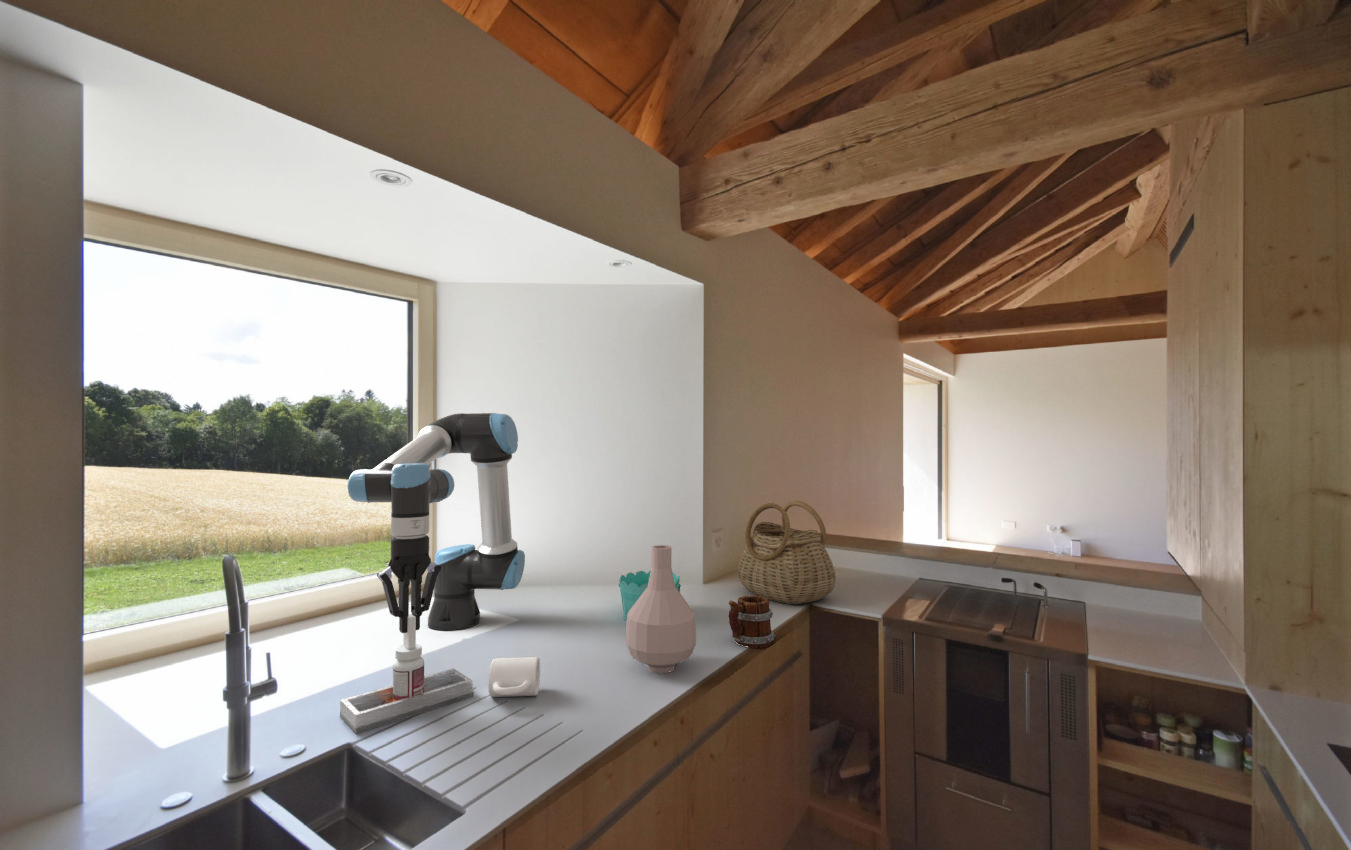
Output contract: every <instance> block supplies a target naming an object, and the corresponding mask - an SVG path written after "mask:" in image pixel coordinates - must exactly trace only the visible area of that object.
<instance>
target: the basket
mask: <svg viewBox="0 0 1351 850" xmlns="http://www.w3.org/2000/svg"><path fill="white" fill-rule="evenodd" d="M791 507H801V509H804V510H805V511H807V512H808V513H809V514H810V515H811V516H812V517H813V519H815V521H816V522H817V525H818V527H819V531H820V534H819V531H818V530H815V529H808V530H803V531H802V530H800V529H799V530H798V529H794V528H792V527H791V523H790V517H789V515H788V513H787V512H788V510H789V509H790V508H791ZM768 509H775V510H777V511H779V513H781V524H777V523H774V522H767V521H762V522H758V523H757V524H756V525H755V526H754V528H753V525H754V523H755V520H756V519H757V518H758V516H759V515H760V514H762V512H764V511H765V510H768ZM752 528H753V530H752ZM744 533H745V537H744V538H745V539H744V540H745V547H744V550H743V551H742V554H741V556H740V558H739V560H738V564H737V576H738V580H739V581H740V583H741V585H742V586H743V587H744V588H745V589H746V590H747V591H749V592H750V593H752V594H753V595H754V596H761V597H765V598H767V599H768V600H769V601H772V600H773V602H776V601H777V602H776V603H780V602H781V604H784V603H786V605H792V604H796V605H802V604H803V603H805V604H808V602H810V603H813V601H814V602H817V601H819V600H821V599H824V598H825V597H827V596H829V595H830V593H832V591H833V590H834V588H835V586H836V581H837V580H836V579H837V578H836V577H837V576H836V570H835V567H834V563H833V561H832V559H831V557H830V555H829V553H828V550H827V549H826V547H825V545H826V541H827V531H826V527H825V524H824V522H823V519H822V518H821V516H820V514H819V513H818V512H817V511H816V510H815V509H814V508H813V507H812V506H811V505H809V504H807V503H805V502H804V501H801V500H792V501H789V502H788V503H786V504H785V505H784V507H783V506H781V505H779V504H776V503H772V502H769V503H768V502H767V503H764V504H762V505H760V506H759V507H757V508H756V509H755V510H754V512H753V513H752V514H751V516H750V517H749V519H748V521H747V524H746V528H745V532H744ZM816 600H817V601H816ZM803 605H804V604H803Z"/></svg>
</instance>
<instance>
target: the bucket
mask: <svg viewBox="0 0 1351 850" xmlns="http://www.w3.org/2000/svg"><path fill="white" fill-rule="evenodd" d="M650 573H651V570H649V571H648V572H646V571H644V570H639V571H635V573H633V572H628V573H627V574H626V575H624V574H622V575H620V577H619V578H618V580H619V583H618V586H619V589H620V596H621V605H622V606H621V607H622V614H623V616H622V617H623V620H624V621H625V622H627V614H628V612H629V611H630V609H631V608H632V607H633V605H634V604H635V603H636V601H637V600H638V599H639V597H640V596H641V595H642V593H643V592H644V591H645V590H646V588H647V587H648V582H649V577H650ZM673 577H674V583H675V587H676V588H677V590H678V591H679V592H680V591H681V586H682V585H681V583H680V581H681V576H680V575H677V574H676V573H674V572H673ZM680 593H681V592H680Z"/></svg>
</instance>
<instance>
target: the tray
mask: <svg viewBox="0 0 1351 850" xmlns="http://www.w3.org/2000/svg"><path fill="white" fill-rule="evenodd" d="M473 683H474V682H473V679H472V678H470V677H468V676H466V675H465V674H463V673H462V672H460V671H459V670H457V669H456V668H454V667H453V668H450V669H446V670H442V671H439V672H436V673H432V674H428V675H426V676H425V675H424V693H422V694H418V695H415V696H412V697H408V698H405V699H402V700H398V701H395V702H393V684H392V685H389V686H386V687H382V688H378V689H375V690H371V691H368V692H364V693H361V694H357V695H354V696H353V695H352V696H350V697H345V698H342V699H340V703H339V704H340V708H339V718H340V719H342V721H343V722H344V723H345V724H346V725H347V726H348V727H349V728H350V729H351V730H352V732H353V733H354V734H355V735H358V734H360V733H364V732H366V731H369V730H373V729H375V728H379V727H382V726H385V725H388V724H391V723H395V722H397V721H400V720H401V721H402V720H403V719H407V718H410V717H414V716H417V715H420V714H423V713H425V712H429V711H432V710H435V709H438V708H442V707H444V706H448V705H451V704H455V703H457V702H458V703H459V702H460V701H464V700H467V699H470V698H473V697H474V692H473V688H474V687H473Z"/></svg>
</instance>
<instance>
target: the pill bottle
mask: <svg viewBox="0 0 1351 850" xmlns="http://www.w3.org/2000/svg"><path fill="white" fill-rule="evenodd" d="M422 650H423V648H422V645H421V644H419V643H416V647H415V648H411V649H408V648H406V647H404V644H401V645H400V646H397V647H396V648H395V659H396V660H394V662H393V665H392V685H393V702H395V701H398V700H402V699H405V698H408V697H412V696H415V695H418V694H422V693H424V676H425V658H423V657H422V655H423V651H422Z"/></svg>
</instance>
